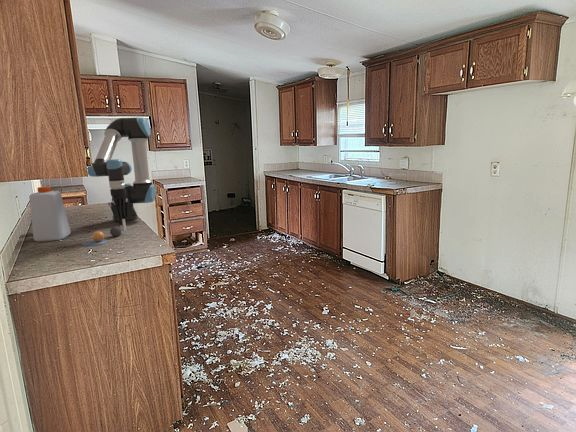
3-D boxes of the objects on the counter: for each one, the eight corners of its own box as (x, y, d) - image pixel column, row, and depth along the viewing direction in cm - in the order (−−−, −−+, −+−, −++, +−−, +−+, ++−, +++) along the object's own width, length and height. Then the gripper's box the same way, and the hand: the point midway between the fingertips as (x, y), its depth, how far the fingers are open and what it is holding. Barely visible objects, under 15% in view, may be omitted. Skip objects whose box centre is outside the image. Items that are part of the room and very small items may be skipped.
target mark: (80, 242, 185) (79, 242, 185) (105, 238, 192) (105, 237, 192) (83, 247, 176) (83, 247, 175) (110, 242, 183) (110, 242, 182)
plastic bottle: (31, 242, 188) (20, 189, 182) (44, 235, 203) (35, 186, 197) (62, 240, 191) (53, 188, 185) (73, 233, 206) (65, 184, 200)
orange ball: (98, 234, 189) (89, 240, 185) (98, 227, 186) (89, 232, 182) (106, 240, 189) (98, 245, 184) (107, 232, 186) (98, 237, 181)
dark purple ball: (112, 225, 197) (111, 235, 197) (109, 225, 192) (108, 236, 191) (122, 226, 198) (121, 236, 198) (120, 226, 193) (119, 237, 192)
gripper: (112, 190, 188) (119, 233, 193) (132, 186, 199) (137, 228, 204) (102, 189, 191) (108, 232, 196) (122, 186, 202) (127, 227, 207)
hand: (123, 230), depth 200 cm, fingers closed
